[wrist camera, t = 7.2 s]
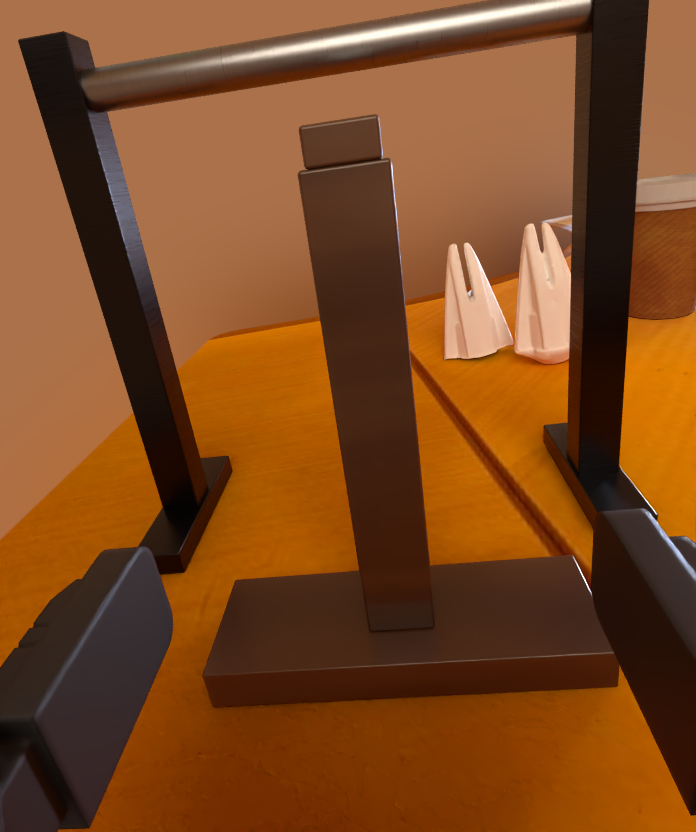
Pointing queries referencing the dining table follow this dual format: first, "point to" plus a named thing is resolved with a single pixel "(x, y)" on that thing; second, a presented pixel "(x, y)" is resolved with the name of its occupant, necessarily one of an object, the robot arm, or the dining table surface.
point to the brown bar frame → (391, 506)
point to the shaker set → (536, 304)
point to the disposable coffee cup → (664, 248)
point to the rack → (328, 55)
